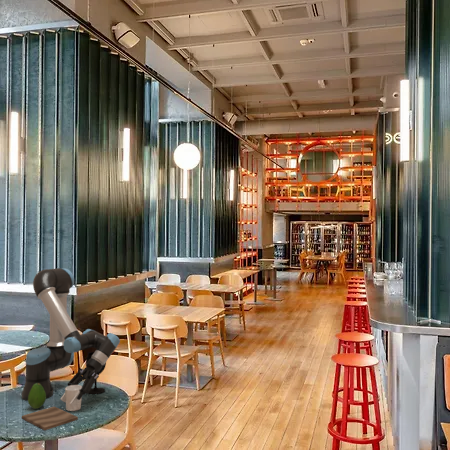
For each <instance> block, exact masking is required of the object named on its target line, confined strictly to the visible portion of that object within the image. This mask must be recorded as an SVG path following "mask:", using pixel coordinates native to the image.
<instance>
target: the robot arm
mask: <svg viewBox="0 0 450 450" xmlns="http://www.w3.org/2000/svg"><path fill="white" fill-rule="evenodd" d="M74 284H75V277H74V274H73V272H72V271H71V270H70V269H68V268H65V267H62V268H61V267H60V268H50V269H48V268H47V269H46V268H45V269H42V270H40V271H38V272H37V273H36V274H35V275H34V278H33V281H32V286H33V290H34V294H35V296H36V298H37V299H38V300H41V301H42V303H43V305H44V307H45V309H46V310H47V312H48V314H49V342H48V343H47V344H46V347H39V348H34V349H32V350H29V351H28V352H27V353H26V356H25V357H26V358H25V383H24V385H23V389H22V392H21V399H22V400H24V401H28V395H29V393H30V390H31V388H32V386H33V385H34V384H36V383H39V384H41V385H42V387H43V389H44V391H45V393H46V400H47V399H48V398H51V397H53V395H54V388H53V386H52V383H51V376H50V375H51V372H55V371H57V370H60V369H64V368H66V367H68V366H69V365H71V364H72V363H73V361H74V356H75V353H78V352H81V351H83V350H87V349H91V348H94V349H96V350H95V351H93V352H94V354H93V355H92V356H91V358H90V359H89V361H88V362H87V363H86V362H85V367H84V368H82V367H79V369H78V371H77V372H76V373H75V375H73V377H72V378H71V379H70V380H69V381H68V382H67V384H66V385H67V386H71V385H79V384H81V382H83V384H82V385H81V386H82V388H81V390H79V392H78V393H77V394H76V396H75V397H74V398H73V400H72V401H71V403H70V404H71V405H72V406H74V407H75V405H76V404H77V402H78V401H79V400H80V399H81V397H83V396H84V395H85V394H86V395H89V394H88V393H89V391H90V389H91V388H93V386H94V385H95V381H96V379H97V380H98V378H99V375H97V374H96V372H97V373H98V372H99V371H100V370H101V368H102V365H104V364H105V363H106V364H107V361H108V359H109V358H110V357H111V355H112V354H113V353H114V351H115V350H116V349H117V347H118V346H119V344H121V343H120V342H121V340H120V338H119V337H118V336H117V335H116V334H114V333H111V332H109V333H108V334H107V335H106V334H105V335H104V334H102V333H100V332H98V331H96V330H94V329H90V328H87V329H85V331H83V332H82V334H81V333H80V332H79V330H78V328H77V327H76V325H75V323H74V322H73V321H74V320H72V318H71V316H70V315H69V312H68V310H67V305H68V304H67V301H68V300H67V297H68V295H70V289H71V288H72V287H73V286H74ZM86 365H87V367H86ZM60 400H61V401H62V402H63V403H66V398H65V392H64V393H63V395H62V396H61V397H60Z"/></svg>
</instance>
